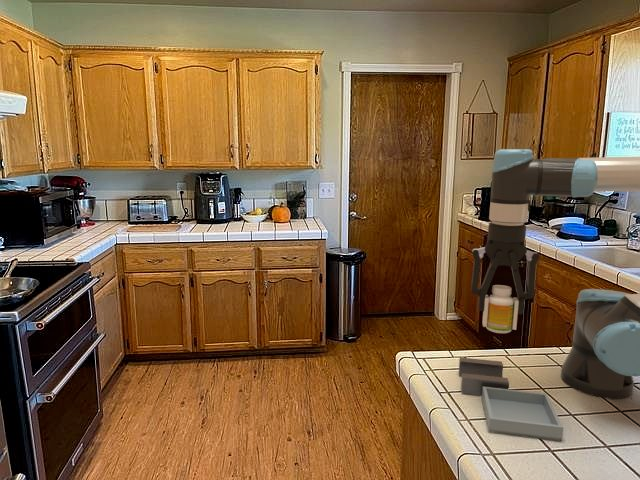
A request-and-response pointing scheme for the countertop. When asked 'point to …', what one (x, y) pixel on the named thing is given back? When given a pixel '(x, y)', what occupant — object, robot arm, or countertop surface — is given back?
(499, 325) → the supplement bottle
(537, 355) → the countertop surface
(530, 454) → the countertop surface
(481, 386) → the steel jaws
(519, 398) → the grey tray
